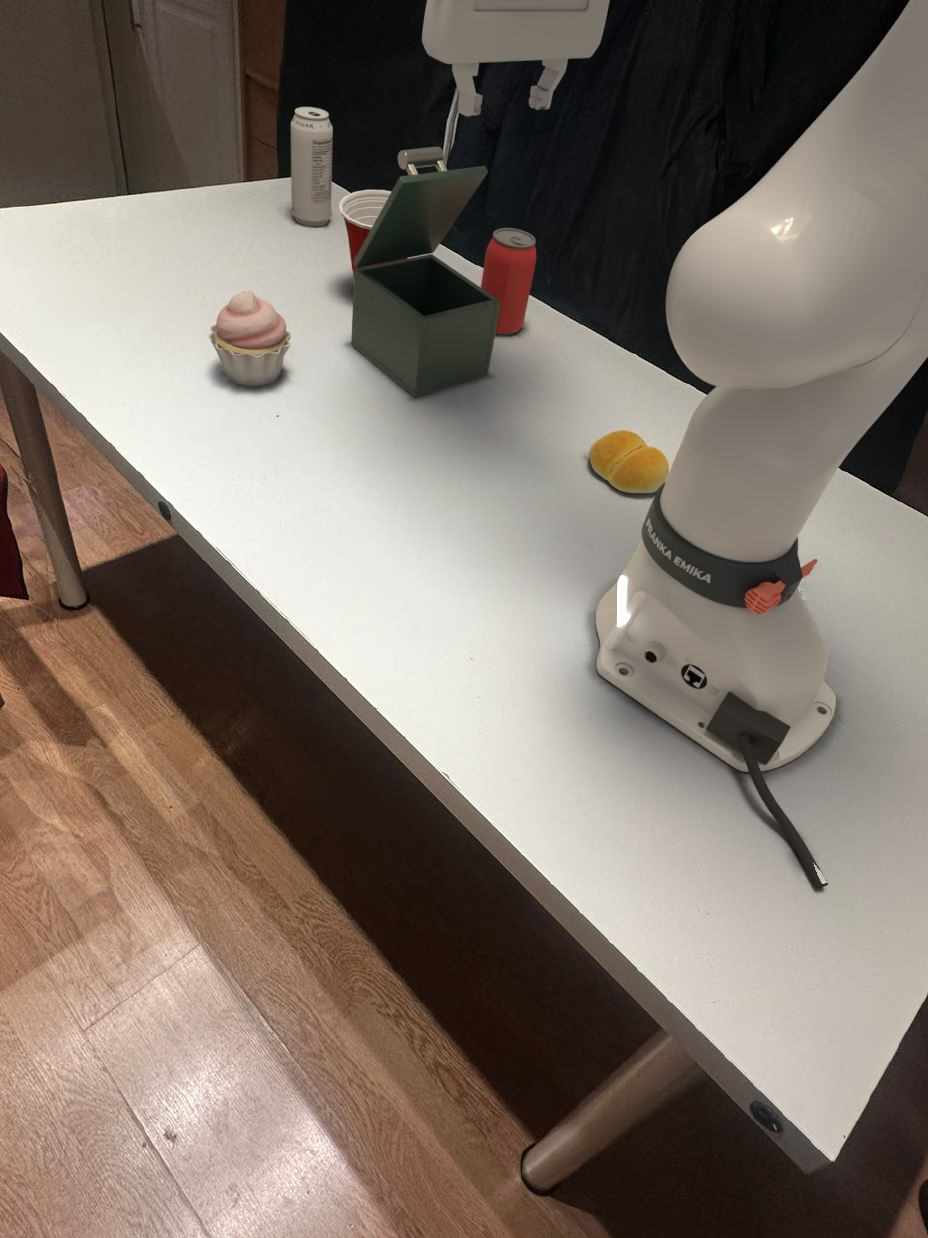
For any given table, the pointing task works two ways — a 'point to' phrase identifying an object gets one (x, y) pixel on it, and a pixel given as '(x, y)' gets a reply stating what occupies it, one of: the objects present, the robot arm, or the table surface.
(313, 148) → the energy drink can
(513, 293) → the beer can
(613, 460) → the bread roll
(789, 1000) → the table surface
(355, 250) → the plastic cup
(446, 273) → the bin
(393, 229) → the bin lid
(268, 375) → the cupcake
